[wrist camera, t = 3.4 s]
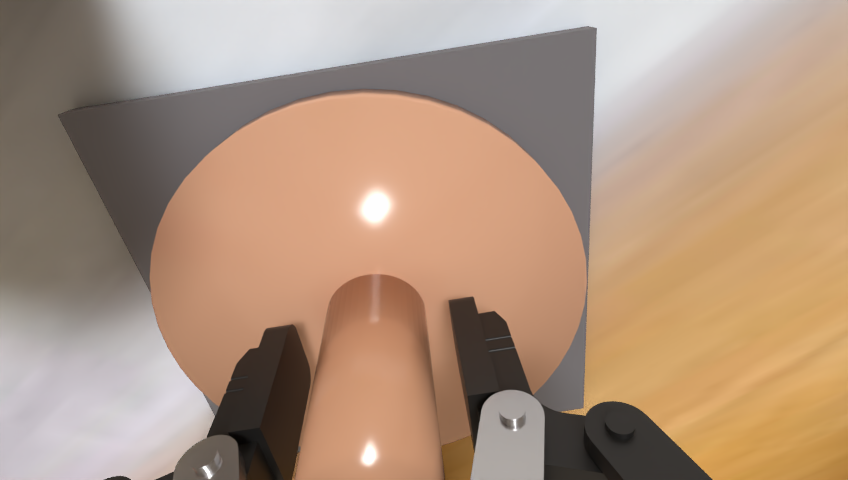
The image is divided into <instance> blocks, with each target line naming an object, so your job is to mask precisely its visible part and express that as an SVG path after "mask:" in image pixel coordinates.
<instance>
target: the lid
mask: <svg viewBox="0 0 848 480" xmlns="http://www.w3.org/2000/svg"><path fill="white" fill-rule="evenodd" d="M150 287H151V297H152V304H153V308H154V312H155V315H156V319H157V323H158V326H159V329H160V331H161V333H162V335H163V338H164V340H165V342H166V344H167V347H168V349H169V350H170V352H171V353H172V355H173V357H174V358H175V360H176V361H177V363H178V365H179V366H180V368H181V369H182V370H183V371H184V373H185V374H186V375H187V376H188V377H189V379H190V380H191V381H192V382H193V383H194V385H195V386H196V387H197V388H198V389H199V390H200V391H202V392H203V393H204V394H205V395H206V396H207V397H208V398H209V399H210V400H211V401H212V402H213V403H215V404H216V405H217V406H220V403H221V401H222V398H223V396H224V394H226V389H227V386H228V384H229V381H231V376H232V374H233V371H234V369H235V366H236V364H237V362H238V361H239V360H240V359H241V358H242V357H243V356H244V354H245V353H246V352H247V351H248V350H249V349H252V348H258V347H259V344H260V342H261V339H262V336H263V333H264V331H265V329H267V328H271V327H278V326H284V325H290V324H293V325H294V326H295V327H296V329H297V332H298V335H299V337H300V340H301V343H302V346H303V349H304V352H305V354H306V357H307V360H308V363H309V367H310V374H311V384H310V390H309V395H308V400H307V405H306V410H305V415H304V420H303V426H302V431H301V436H300V441H299V446H300V447H301V449H300V454H299V459H298V465H297V470H296V475H295V480H445V475H444V466H443V458H442V449H441V446H442V445H445V444H448V443H452V442H455V441H457V440H460V439H462V438H465V437H467V436H470V435H471V432H470V426H469V421H468V416H467V410H466V405H465V399H464V394H463V389H462V383H461V378H460V373H459V367H458V362H457V356H456V350H455V344H454V337H453V330H452V323H451V316H450V309H449V302H448V300H452V299H458V298H465V297H471V296H473V297H474V300H475V304H476V307H477V311H478V313H485V312H491V311H495V312H496V313H497V314H499V315H500V316H501V317H502V318H503V319H504V320H505V321H506V322H507V325H508V328H509V331H510V334H511V338H512V339H513V342H514V345H515V349H516V350H517V353H518V356H519V359H520V362H521V364H522V367H523V370H524V373H525V376H526V378H527V381H528V384H529V387H530V390H531V392H532V394H534V393H535V392H536V391H537V390H538V389H539V388H540V387H541V386H542V385H543V384H544V383H545V382H546V381H547V380H548V379H549V377H550V376H551V375H552V374H553V372H554V371H555V370H556V368H557V367H558V366H559V364H560V363H561V361H562V359H563V358H564V356H565V354H566V353H567V351H568V349H569V348H570V346H571V343H572V341H573V339H574V336H575V334H576V332H577V329H578V327H579V324H580V320H581V316H582V312H583V309H584V305H585V296H586V287H587V272H586V257H585V252H584V248H583V243H582V238H581V234H580V232H579V229H578V226H577V224H576V221H575V219H574V216H573V213H572V211H571V210H570V208H569V206H568V204H567V203H566V201H565V199H564V197H563V196H562V194H561V192H560V191H559V189H558V188H557V187H556V185H555V184H554V183H553V182H552V180H551V179H550V178H549V177H548V175H547V174H546V173H545V172H544V170H543V169H542V168H541V167H540V166H539V165H538V163H537V162H536V161H535V160H534V159H533V158H532V156H531V155H530V154H529V153H528V152H527V151H526V150H525V149H523V148H522V147H521V146H520V145H519V144H518V143H517V142H516V141H515V140H514V139H513V138H511V137H510V136H509V135H508V134H506V133H505V132H503V131H502V130H501V129H499V128H498V127H496V126H495V125H493V124H492V123H490V122H489V121H487V120H486V119H484V118H482V117H480V116H478V115H476V114H474V113H472V112H470V111H468V110H466V109H464V108H461V107H459V106H457V105H454V104H451V103H448V102H445V101H442V100H439V99H436V98H433V97H430V96H426V95H421V94H415V93H410V92H404V91H399V90H384V89H353V90H342V91H331V92H327V93H322V94H318V95H314V96H309V97H305V98H301V99H298V100H295V101H292V102H290V103H287V104H285V105H282V106H279V107H277V108H274V109H272V110H269V111H268V112H266V113H264V114H262V115H260V116H259V117H257V118H255V119H253V120H252V121H250V122H248V123H246V124H244V125H243V126H242V127H240V128H239V129H238V130H236V131H235V132H234V133H233V134H231V135H230V136H229V137H227V138H226V139H225V140H224V141H222V142H221V143H220V144H219V145H218V146H216V147H215V148H214V149H213V150H212V151H211V152H210V153H209V154H208V155H207V156H205V157H204V159H203V160H202V161H201V162H200V163H199V164H198V165H197V166H196V167H195V168H194V169H193V170H192V171H191V172H190V174H189V175H188V176H187V177H186V178H185V179H184V180H183V182H182V183H181V185H180V186H179V188H178V189H177V191H176V192H175V194H174V195H173V197H172V199H171V200H170V202H169V203H168V205H167V208H166V210H165V212H164V214H163V217H162V219H161V221H160V224H159V226H158V228H157V232H156V236H155V240H154V244H153V249H152V253H151V265H150Z"/></svg>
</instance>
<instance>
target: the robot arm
mask: <svg viewBox="0 0 848 480" xmlns="http://www.w3.org/2000/svg"><path fill="white" fill-rule="evenodd" d="M448 302H449V309H450V316H451V323H452V330H453V337H454V344H455V350H456V356H457V362H458V367H459V373H460V378H461V383H462V389H463V394H464V399H465V405H466V410H467V416H468V421H469V426H470V432H471V437H472V442H473V448H474V453H475V454H474V460H473V466H472V473H471V479H470V480H712V479H711V478H710V477H709V476H708V475H707V474H706V473H705V472H704V471H703V470H702V469H701V468H700V467H699V466H698V465H697V464H696V463H695V462H694V461H693V460H692V459H691V458H690V457H689V456H688V455H687V454H686V453H685V452H684V451H683V450H682V449H681V448H680V447H679V446H678V445H677V444H676V443H675V442H674V441H672V440H671V439H670V438H669V437H668V436H667V435H666V434H665V433H664V432H663V431H662V430H661V429H660V428H659V427H658V426H657V425H656V424H655V423H654V422H653V421H652V420H651V419H650V418H649V417H648V416H647V415H646V414H645V413H643V412H642V411H641V410H639V409H638V408H636V407H634V406H632V405H629V404H626V403H622V402H614V401H612V402H603V403H600V404H597V405H595V406H594V407H592V408H591V409H590V410H589V411H588V413H587V414H586V416H583V415H575V414H567V413H561V412H558V411H554V410H552V409H550V408H548V407H546V406H544V405H543V404H541V403H540V402H539V401H538V400H537V399H536V398H535V397H534V395H533V394H532V392H531V390H530V387H529V384H528V381H527V378H526V376H525V373H524V370H523V367H522V364H521V362H520V359H519V356H518V353H517V350H516V349H515V345H514V342H513V339H512V338H511V334H510V331H509V328H508V325H507V322H506V321H505V320H504V319H503V318H502V317H501V316H500V315H499V314H497V313H496V312H495V311H491V312H485V313H478V311H477V307H476V304H475V300H474V297H473V296H471V297H465V298H458V299H452V300H448ZM310 384H311V374H310V367H309V363H308V360H307V357H306V354H305V352H304V349H303V346H302V343H301V340H300V337H299V335H298V332H297V329H296V327H295V326H294V325H293V324H290V325H284V326H278V327H271V328H267V329H265V331H264V333H263V336H262V339H261V342H260V344H259V347H258V348H252V349H249V350H248V351H247V352H246V353H245V354H244V356H243V357H242V358H241V359H240V360H239V361H238V362H237V364H236V366H235V369H234V371H233V374H232V376H231V381H229V384H228V386H227V389H226V394H224V396H223V398H222V401H221V403H220V406H219V408H218V411H217V413H216V416H215V418H214V421H213V423H212V426H211V428H210V430H209V433H208V435H207V438H206V439H203V440H201V441H200V442H198V443H196V444H195V445H193V446H192V447H191V448H190V449H189V450H187V451H186V452H185V454H184V455H183V456H182V457H181V458H180V460H179V461H178V463H177V465H176V467H175V470H174V472H172V473H170V474H167V475H165V476H163V477H160V478H158V479H156V480H292V476H293V471H294V466H295V461H296V456H297V451H298V446H299V441H300V436H301V431H302V426H303V420H304V415H305V410H306V405H307V400H308V395H309V390H310ZM105 480H131V479H129V478H127V477H124V476H116V477H111V478H107V479H105Z"/></svg>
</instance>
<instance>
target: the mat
mask: <svg viewBox="0 0 848 480" xmlns="http://www.w3.org/2000/svg"><path fill="white" fill-rule="evenodd" d="M596 32H597V28H594V27H589V26H587V27H581V28H574V29H568V30H562V31H556V32H550V33H543V34H537V35H531V36H525V37H519V38H512V39H506V40H500V41H494V42H488V43H481V44H475V45H469V46H463V47H457V48H450V49H444V50H438V51H432V52H426V53H419V54H413V55H407V56H401V57H395V58H389V59H382V60H376V61H370V62H364V63H358V64H351V65H345V66H339V67H333V68H327V69H320V70H314V71H308V72H302V73H296V74H289V75H283V76H277V77H271V78H265V79H258V80H252V81H246V82H240V83H234V84H227V85H221V86H215V87H209V88H203V89H196V90H190V91H184V92H178V93H172V94H165V95H159V96H153V97H147V98H141V99H134V100H128V101H122V102H116V103H110V104H103V105H97V106H91V107H85V108H79V109H72V110H69V111H67V112H64V113H61V114H59V115H58V116H59V118H60V120H61V122H62V124H63V126H64V128H65V130H66V132H67V133H68V135H69V137H70V139H71V141H72V143H73V145H74V147H75V149H76V151H77V153H78V155H79V156H80V158H81V160H82V162H83V164H84V166H85V168H86V170H87V172H88V174H89V176H90V178H91V179H92V181H93V183H94V185H95V187H96V189H97V191H98V193H99V195H100V197H101V199H102V201H103V202H104V204H105V206H106V208H107V210H108V212H109V214H110V216H111V218H112V220H113V222H114V223H115V225H116V227H117V229H118V231H119V233H120V235H121V237H122V239H123V241H124V243H125V245H126V246H127V248H128V250H129V252H130V254H131V256H132V258H133V260H134V262H135V264H136V266H137V268H138V269H139V271H140V273H141V275H142V277H143V279H144V281H145V283H146V285H147V287H148V289H149V290H150V292H151V287H150V265H151V253H152V249H153V244H154V240H155V236H156V232H157V228H158V226H159V224H160V221H161V219H162V217H163V214H164V212H165V210H166V208H167V205H168V203H169V202H170V200H171V199H172V197H173V195H174V194H175V192H176V191H177V189H178V188H179V186H180V185H181V183H182V182H183V180H184V179H185V178H186V177H187V176H188V175H189V174H190V172H191V171H192V170H193V169H194V168H195V167H196V166H197V165H198V164H199V163H200V162H201V161H202V160H203V159H204V157H205V156H207V155H208V154H209V153H210V152H211V151H212V150H213V149H214V148H215V147H216V146H218V145H219V144H220V143H221V142H222V141H224V140H225V139H226V138H227V137H229V136H230V135H231V134H233V133H234V132H235V131H236V130H238V129H239V128H240V127H242V126H243V125H244V124H246V123H248V122H250V121H252V120H253V119H255V118H257V117H259V116H260V115H262V114H264V113H266V112H268V111H269V110H272V109H274V108H277V107H279V106H282V105H285V104H287V103H290V102H292V101H295V100H298V99H301V98H305V97H309V96H314V95H318V94H322V93H327V92H331V91H342V90H353V89H384V90H399V91H404V92H410V93H415V94H421V95H426V96H430V97H433V98H436V99H439V100H442V101H445V102H448V103H451V104H454V105H457V106H459V107H461V108H464V109H466V110H468V111H470V112H472V113H474V114H476V115H478V116H480V117H482V118H484V119H486V120H487V121H489V122H490V123H492V124H493V125H495V126H496V127H498V128H499V129H501V130H502V131H503V132H505V133H506V134H508V135H509V136H510V137H511V138H513V139H514V140H515V141H516V142H517V143H518V144H519V145H520V146H521V147H522V148H523V149H525V150H526V151H527V152H528V153H529V154H530V155H531V156H532V158H533V159H534V160H535V161H536V162H537V163H538V165H539V166H540V167H541V168H542V169H543V170H544V172H545V173H546V174H547V175H548V177H549V178H550V179H551V180H552V182H553V183H554V184H555V185H556V187H557V188H558V189H559V191H560V192H561V194H562V196H563V197H564V199H565V201H566V203H567V204H568V206H569V208H570V210H571V211H572V213H573V216H574V219H575V221H576V224H577V226H578V229H579V232H580V234H581V238H582V243H583V248H584V252H585V257H586V272H587V287H586V296H585V305H584V309H583V312H582V316H581V320H580V324H579V327H578V329H577V332H576V334H575V336H574V339H573V341H572V343H571V346H570V348H569V349H568V351H567V353H566V354H565V356H564V358H563V359H562V361H561V363H560V364H559V366H558V367H557V368H556V370H555V371H554V372H553V374H552V375H551V376H550V377H549V379H548V380H547V381H546V382H545V383H544V384H543V385H542V386H541V387H540V388H539V389H538V390H537V391H536V392H535V393H534V394H533V395H534V397H535V398H536V399H537V400H538V401H539V402H540V403H541V404H543V405H544V406H546V407H548V408H550V409H552V410H554V411H558V412H561V411H567V410H574V409H580V408H583V403H584V374H585V346H586V317H587V289H588V260H589V232H590V203H591V175H592V146H593V117H594V89H595V60H596ZM203 394H204V393H203ZM204 396H205V398H206V400H207V402H208V403H209V405H210V407H211V409H212V411H213V413H214V415H215V416H216V413H217V411H218V408H219V406H217V405H216V404H215V403H213V402H212V401H211V400H210V399H209V398H208V397H207V396H206V395H205V394H204ZM300 449H301V447H300V446H298V451H297V452H300Z"/></svg>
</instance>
